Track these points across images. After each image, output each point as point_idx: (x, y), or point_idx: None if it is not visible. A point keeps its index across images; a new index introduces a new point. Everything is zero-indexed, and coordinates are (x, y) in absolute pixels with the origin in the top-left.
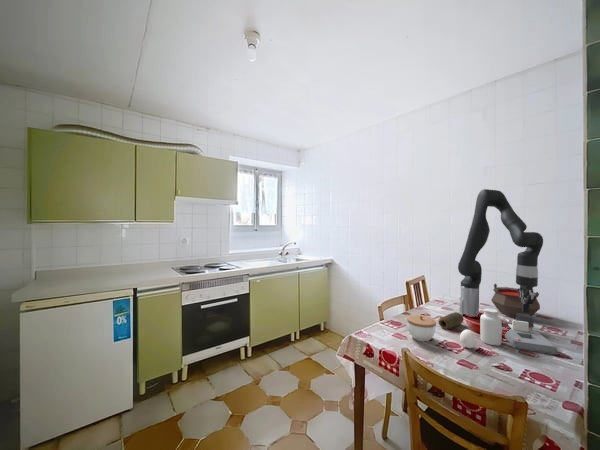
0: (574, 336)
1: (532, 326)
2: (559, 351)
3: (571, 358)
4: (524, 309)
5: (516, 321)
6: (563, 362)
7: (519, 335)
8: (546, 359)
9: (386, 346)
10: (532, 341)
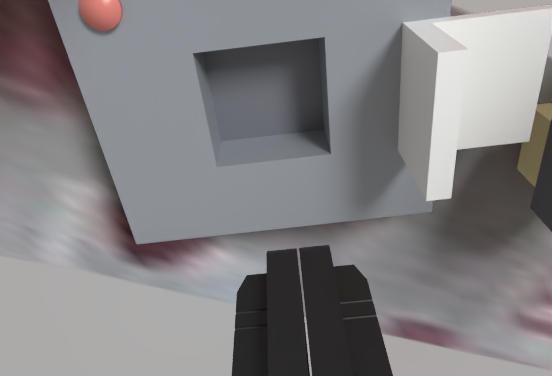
0: (515, 356)
1: (537, 209)
2: (219, 240)
3: (141, 265)
4: (265, 294)
5: (432, 90)
6: (37, 215)
7: (323, 58)
8: (4, 138)
9: None
10: (144, 124)
